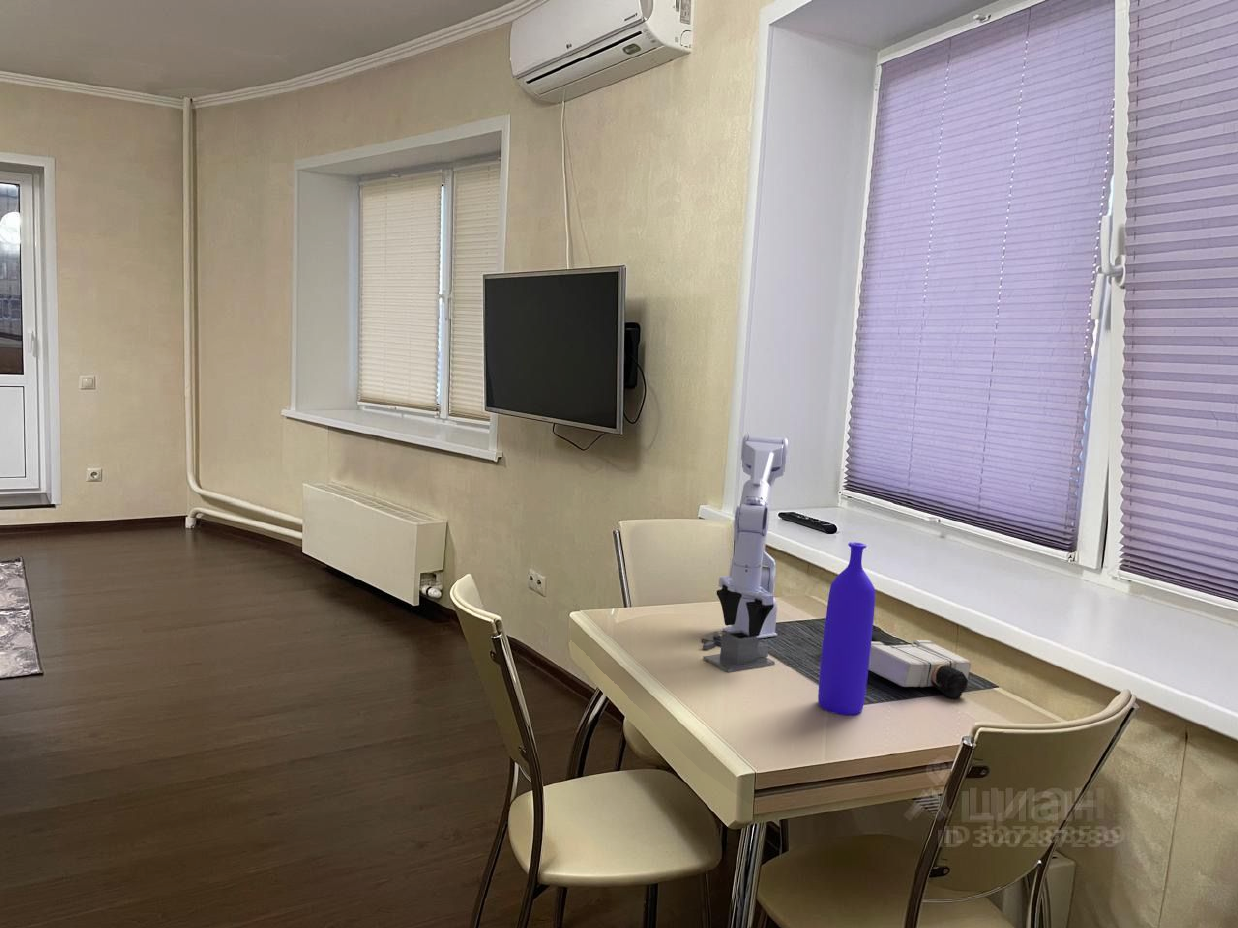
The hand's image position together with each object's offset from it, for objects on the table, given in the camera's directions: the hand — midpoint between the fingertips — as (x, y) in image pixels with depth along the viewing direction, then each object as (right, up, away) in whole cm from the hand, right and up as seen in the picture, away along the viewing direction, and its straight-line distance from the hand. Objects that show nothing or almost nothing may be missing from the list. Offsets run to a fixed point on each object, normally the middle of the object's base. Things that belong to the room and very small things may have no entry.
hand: (741, 630), depth 189 cm
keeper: (0, -7, +1) cm, 7 cm away
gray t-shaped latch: (-5, -5, +11) cm, 13 cm away
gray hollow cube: (-1, -6, 0) cm, 6 cm away
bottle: (+15, -11, -20) cm, 27 cm away
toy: (+32, -9, +1) cm, 33 cm away
